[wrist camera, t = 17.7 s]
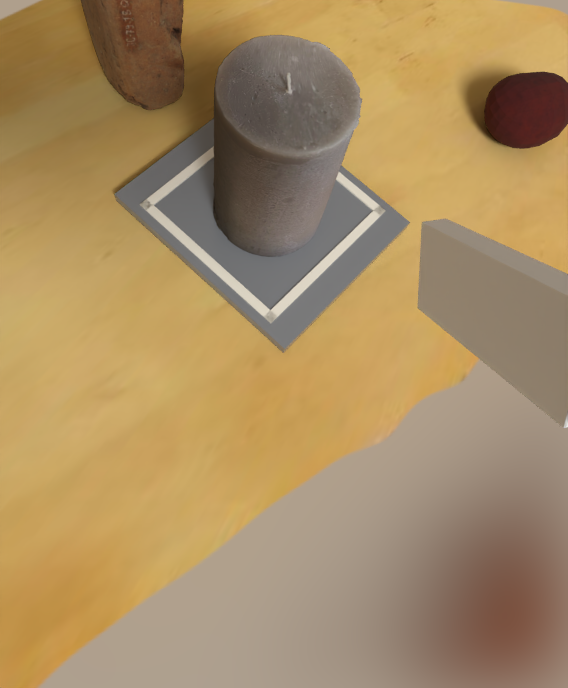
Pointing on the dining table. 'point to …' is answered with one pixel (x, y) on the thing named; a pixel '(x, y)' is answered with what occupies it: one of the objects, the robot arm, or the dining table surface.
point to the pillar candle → (279, 140)
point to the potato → (527, 109)
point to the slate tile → (253, 270)
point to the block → (139, 47)
